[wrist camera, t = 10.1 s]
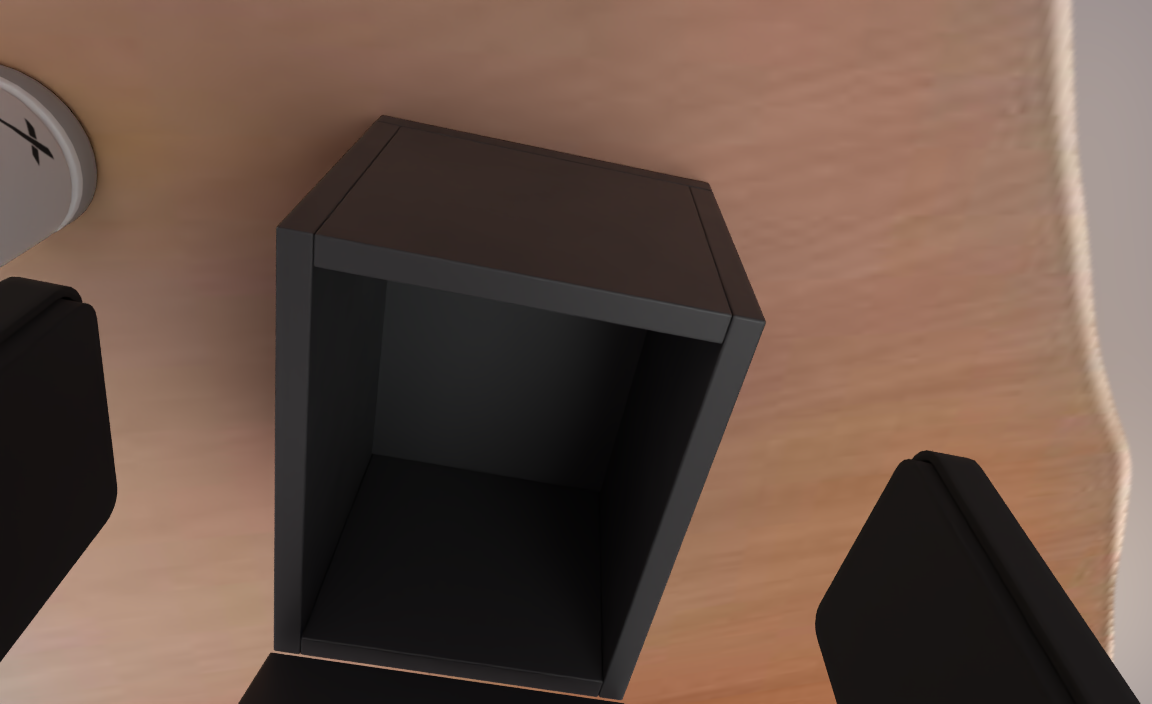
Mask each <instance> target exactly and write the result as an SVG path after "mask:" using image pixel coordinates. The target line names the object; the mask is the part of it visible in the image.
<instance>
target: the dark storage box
mask: <svg viewBox="0 0 1152 704" xmlns="http://www.w3.org/2000/svg"><path fill="white" fill-rule="evenodd" d="M765 323H766V321H765V318H764V316H763V314H762V311H761V309H760V306H759V304H758V301H757V299H756V297H755V294H754V292H753V289H752V287H751V284H750V282H749V280H748V277H747V275H746V272H745V270H744V267H743V265H742V262H741V260H740V258H739V255H738V253H737V250H736V248H735V245H734V243H733V241H732V238H731V236H730V233H729V231H728V228H727V226H726V224H725V221H724V219H723V216H722V214H721V211H720V209H719V206H718V204H717V202H716V199H715V197H714V194H713V192H712V190H711V187H710V185H709V184H708V183H705V182H700V181H695V180H691V179H686V178H681V177H676V176H671V175H667V174H662V173H657V172H652V171H647V170H643V169H638V168H633V167H628V166H624V165H619V164H614V163H609V162H604V161H600V160H595V159H590V158H585V157H580V156H576V155H571V154H566V153H561V152H557V151H552V150H547V149H542V148H537V147H533V146H528V145H523V144H518V143H514V142H509V141H504V140H499V139H494V138H490V137H485V136H480V135H475V134H470V133H466V132H461V131H456V130H451V129H447V128H442V127H437V126H432V125H427V124H423V123H418V122H413V121H408V120H403V119H399V118H394V117H389V116H384V115H383V116H381V117H380V118H379V119H378V120H377V121H376V122H375V123H374V124H373V125H372V126H371V127H370V128H369V129H368V130H367V131H366V132H365V133H364V134H363V136H362V137H361V138H360V139H359V140H358V141H357V142H356V143H355V144H354V145H353V146H352V147H351V148H350V149H349V150H348V152H347V153H346V154H345V155H344V156H343V157H342V158H341V159H340V160H339V161H338V162H337V163H336V164H335V165H334V166H333V168H332V169H331V170H330V171H329V172H328V173H327V174H326V175H325V176H324V177H323V178H322V179H321V180H320V181H319V182H318V184H317V185H316V186H315V187H314V188H313V189H312V190H311V191H310V192H309V193H308V194H307V195H306V196H305V197H304V198H303V199H302V201H301V202H300V203H299V204H298V205H297V206H296V207H295V208H294V209H293V210H292V211H291V212H290V213H289V214H288V215H287V217H286V218H285V219H284V220H283V221H282V222H281V223H280V224H279V225H278V226H277V228H276V368H275V538H274V650H275V651H281V652H288V653H294V654H299V653H300V652H301V654H302V655H309V656H316V657H323V658H330V659H337V660H344V661H351V662H358V663H365V664H372V665H379V666H385V667H392V668H399V669H406V670H413V671H420V672H427V673H434V674H441V675H448V676H455V677H462V678H469V679H476V680H483V681H490V682H496V683H503V684H510V685H517V686H524V687H531V688H538V689H545V690H552V691H559V692H566V693H573V694H580V695H587V696H594V697H597V696H598V695H599V697H602V698H609V699H616V700H622V699H623V696H624V694H625V691H626V689H627V686H628V683H629V681H630V678H631V675H632V673H633V670H634V668H635V665H636V662H637V660H638V657H639V654H640V652H641V649H642V647H643V644H644V641H645V639H646V636H647V633H648V631H649V628H650V625H651V623H652V620H653V618H654V615H655V612H656V610H657V607H658V604H659V602H660V599H661V597H662V594H663V591H664V589H665V586H666V583H667V581H668V578H669V576H670V573H671V570H672V568H673V565H674V562H675V560H676V557H677V555H678V552H679V549H680V547H681V544H682V541H683V539H684V536H685V534H686V531H687V528H688V526H689V523H690V520H691V518H692V515H693V513H694V510H695V507H696V505H697V502H698V499H699V497H700V494H701V492H702V489H703V486H704V484H705V481H706V478H707V476H708V473H709V471H710V468H711V465H712V463H713V460H714V457H715V455H716V452H717V450H718V447H719V444H720V442H721V439H722V436H723V434H724V431H725V429H726V426H727V423H728V421H729V418H730V415H731V413H732V410H733V408H734V405H735V402H736V400H737V397H738V394H739V392H740V389H741V387H742V384H743V381H744V379H745V376H746V373H747V371H748V368H749V365H750V363H751V360H752V358H753V355H754V352H755V350H756V347H757V344H758V342H759V339H760V337H761V334H762V331H763V329H764V326H765Z"/></svg>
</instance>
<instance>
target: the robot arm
mask: <svg viewBox="0 0 1152 704" xmlns="http://www.w3.org/2000/svg"><path fill="white" fill-rule="evenodd" d="M116 498H117V481H116V473H115V464H114V456H113V448H112V439H111V431H110V423H109V414H108V406H107V398H106V389H105V381H104V372H103V364H102V356H101V347H100V339H99V331H98V322H97V316H96V312H95V310H94V308H93V307H92V306H91V305H89V304H86V303H82V299H81V297H80V295H79V293H78V292H77V291H76V290H75V289H73V288H72V287H68V286H63V285H58V284H53V283H47V282H42V281H37V280H32V279H26V278H21V277H9V278H7V279H5V280H3V281H1V282H0V662H1V661H2V659H3V658H4V657H5V655H6V654H7V653H8V651H9V650H10V649H11V647H12V646H13V645H14V643H15V642H16V641H17V639H18V638H19V637H20V635H21V634H22V633H23V631H24V630H25V629H26V628H27V626H28V625H29V624H30V622H31V621H32V620H33V618H34V617H35V616H36V614H37V613H38V612H39V610H40V609H41V608H42V606H43V605H44V604H45V602H46V601H47V600H48V599H49V597H50V596H51V595H52V593H53V592H54V591H55V589H56V588H57V587H58V585H59V584H60V583H61V581H62V580H63V579H64V577H65V576H66V575H67V573H68V572H69V571H70V569H71V568H72V567H73V566H74V564H75V563H76V562H77V560H78V559H79V558H80V556H81V555H82V554H83V552H84V551H85V550H86V548H87V547H88V546H89V544H90V543H91V542H92V540H93V539H94V538H95V537H96V535H97V534H98V533H99V531H100V530H101V529H102V527H103V526H104V525H105V523H106V522H107V520H108V519H109V517H110V515H111V513H112V511H113V509H114V506H115V502H116ZM815 628H816V635H817V639H818V643H819V646H820V649H821V652H822V656H823V659H824V662H825V666H826V669H827V672H828V675H829V679H830V682H831V685H832V689H833V692H834V695H835V698H836V702H837V704H1140V702H1139V701H1138V699H1137V698H1136V696H1135V695H1134V693H1133V692H1132V691H1131V689H1130V687H1129V686H1128V684H1127V683H1126V682H1125V680H1124V678H1123V677H1122V676H1121V674H1120V673H1119V671H1118V670H1117V668H1116V667H1115V665H1114V664H1113V662H1112V661H1111V659H1110V658H1109V656H1108V655H1107V653H1106V652H1105V650H1104V649H1103V647H1102V646H1101V644H1100V643H1099V641H1098V640H1097V638H1096V637H1095V636H1094V634H1093V633H1092V631H1091V630H1090V628H1089V627H1088V625H1087V624H1086V622H1085V621H1084V619H1083V618H1082V616H1081V615H1080V613H1079V612H1078V610H1077V609H1076V607H1075V606H1074V604H1073V603H1072V601H1071V600H1070V599H1069V597H1068V596H1067V594H1066V593H1065V591H1064V590H1063V588H1062V587H1061V585H1060V584H1059V582H1058V581H1057V579H1056V578H1055V576H1054V575H1053V573H1052V572H1051V570H1050V569H1049V567H1048V566H1047V564H1046V563H1045V561H1044V560H1043V559H1042V557H1041V556H1040V554H1039V553H1038V551H1037V550H1036V548H1035V547H1034V545H1033V544H1032V542H1031V541H1030V539H1029V538H1028V536H1027V535H1026V533H1025V532H1024V530H1023V529H1022V527H1021V526H1020V524H1019V523H1018V522H1017V520H1016V519H1015V517H1014V516H1013V514H1012V513H1011V511H1010V510H1009V508H1008V507H1007V505H1006V504H1005V502H1004V501H1003V499H1002V498H1001V496H1000V495H999V493H998V492H997V490H996V489H995V487H994V486H993V485H992V483H991V482H990V480H989V479H988V477H987V476H986V474H985V473H984V471H983V470H982V468H981V467H980V466H979V465H978V464H977V463H976V462H975V461H974V460H972V459H969V458H964V457H959V456H954V455H949V454H943V453H938V452H933V451H928V450H926V451H921V452H919V453H918V454H916V455H915V456H914V457H913V459H912V460H911V459H907V460H904V461H902V462H901V463H900V464H899V465H898V467H897V468H896V470H895V471H894V473H893V475H892V477H891V478H890V480H889V482H888V484H887V486H886V487H885V489H884V491H883V493H882V494H881V496H880V498H879V500H878V502H877V503H876V505H875V507H874V509H873V510H872V512H871V514H870V516H869V517H868V519H867V521H866V523H865V525H864V526H863V528H862V530H861V532H860V533H859V535H858V537H857V539H856V541H855V542H854V544H853V546H852V548H851V549H850V551H849V553H848V555H847V557H846V558H845V560H844V562H843V564H842V565H841V567H840V569H839V571H838V572H837V574H836V576H835V578H834V580H833V581H832V583H831V585H830V587H829V588H828V590H827V592H826V594H825V596H824V597H823V599H822V601H821V603H820V605H819V607H818V609H817V614H816V621H815Z"/></svg>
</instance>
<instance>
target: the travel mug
mask: <svg viewBox="0 0 1152 704" xmlns="http://www.w3.org/2000/svg"><path fill="white" fill-rule="evenodd" d="M96 181H97V169H96V163H95V157H94V153H93V150H92V147H91V144H90V142H89V139H88V137H87V135H86V133H85V131H84V130H83V128H82V126H81V124H80V123H79V121H78V120H77V119H76V117H75V116H74V115H73V113H72V112H71V111H70V110H69V108H68V107H67V106H66V105H65V104H64V103H63V102H62V101H61V100H60V99H59V98H58V97H57V96H56V95H55V94H54V93H53V92H51V91H50V90H48V89H47V88H46V87H44V86H43V85H41V84H40V83H39V82H37V81H36V80H34V79H32V78H31V77H29V76H27V75H25V74H23V73H21V72H19V71H17V70H15V69H12V68H9V67H6V66H3V65H0V267H2V266H3V265H5V264H7V263H8V262H10V261H11V260H13V259H14V258H16V257H18V256H19V255H21V254H22V253H24V252H25V251H27V250H29V249H30V248H32V247H33V246H35V245H36V244H38V243H40V242H41V241H43V240H44V239H46V238H47V237H49V236H50V235H51V234H53V233H55V232H57V231H58V230H60V229H62V228H63V227H65V226H66V225H68V224H69V223H71V222H73V221H74V220H76V219H77V218H78V217H79V216H80V215H81V214H82V213H83V212H84V211H86V209H87V207H88V206H89V204H90V202H91V201H92V199H93V196H94V192H95V189H96Z"/></svg>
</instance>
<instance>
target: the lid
mask: <svg viewBox="0 0 1152 704" xmlns="http://www.w3.org/2000/svg"><path fill="white" fill-rule="evenodd" d="M238 704H624V703H618V702H611V701H604V700H597V699H590V698H583V697H576V696H569V695H563V694H556V693H549V692H542V691H535V690H528V689H521V688H514V687H507V686H500V685H493V684H486V683H479V682H472V681H465V680H458V679H451V678H444V677H437V676H430V675H423V674H417V673H410V672H403V671H396V670H389V669H382V668H375V667H368V666H361V665H354V664H347V663H340V662H333V661H326V660H319V659H312V658H305V657H298V656H291V655H284V654H277V653H270V654H269V656H268V657H267V659H266V660H265V662H264V664H263V665H262V667H261V668H260V670H259V672H258V673H257V675H256V676H255V678H254V680H253V681H252V683H251V684H250V686H249V687H248V689H247V691H246V692H245V694H244V695H243V697H242V699H241V700H240V702H239V703H238Z"/></svg>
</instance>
